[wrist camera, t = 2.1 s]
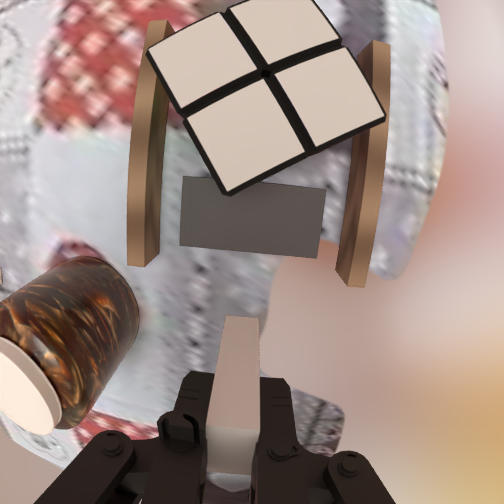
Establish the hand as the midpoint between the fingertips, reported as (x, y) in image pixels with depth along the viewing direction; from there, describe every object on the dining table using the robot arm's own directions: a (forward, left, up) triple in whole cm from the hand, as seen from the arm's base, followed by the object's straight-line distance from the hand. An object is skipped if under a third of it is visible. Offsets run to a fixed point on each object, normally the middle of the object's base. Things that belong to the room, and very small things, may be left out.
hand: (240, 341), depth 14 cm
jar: (-7, +16, -14) cm, 22 cm away
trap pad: (+4, 0, -13) cm, 14 cm away
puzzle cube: (+13, 0, -13) cm, 18 cm away
